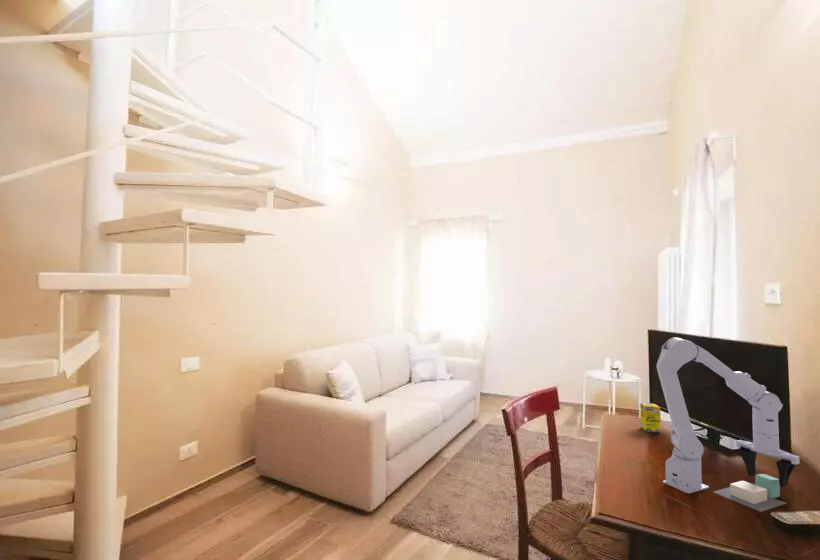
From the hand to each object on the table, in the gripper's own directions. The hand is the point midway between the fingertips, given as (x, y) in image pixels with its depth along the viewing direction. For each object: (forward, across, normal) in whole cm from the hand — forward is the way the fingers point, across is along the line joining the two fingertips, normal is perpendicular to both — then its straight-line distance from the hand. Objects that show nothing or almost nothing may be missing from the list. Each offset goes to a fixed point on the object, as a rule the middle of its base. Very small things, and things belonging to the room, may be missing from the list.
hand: (767, 480), depth 119 cm
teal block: (+4, 0, 0) cm, 4 cm away
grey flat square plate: (+4, +1, +7) cm, 8 cm away
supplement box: (+4, +53, -22) cm, 58 cm away
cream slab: (+4, +1, +7) cm, 8 cm away
